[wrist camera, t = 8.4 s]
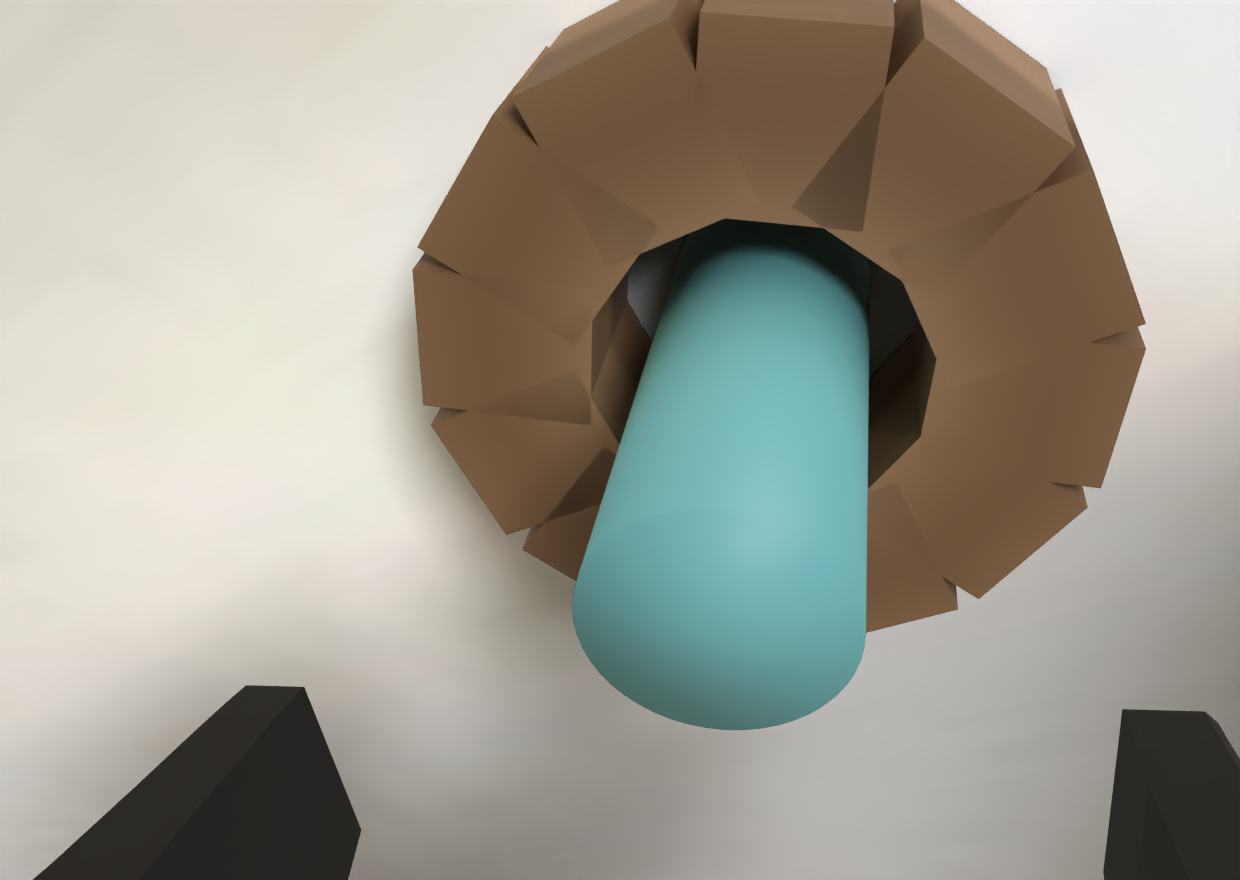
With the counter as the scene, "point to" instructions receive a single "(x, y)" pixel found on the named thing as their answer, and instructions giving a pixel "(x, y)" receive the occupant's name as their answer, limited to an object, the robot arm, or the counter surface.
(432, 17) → the counter surface
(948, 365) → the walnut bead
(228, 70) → the counter surface
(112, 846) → the robot arm
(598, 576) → the capsule peg
